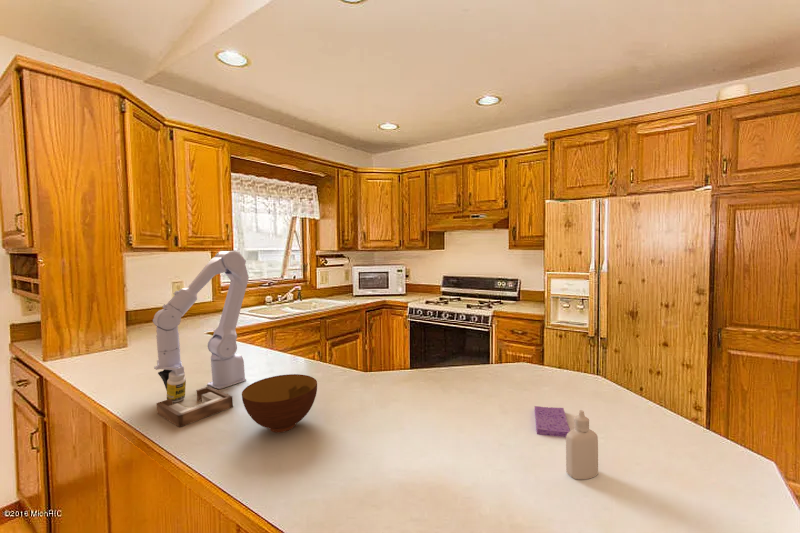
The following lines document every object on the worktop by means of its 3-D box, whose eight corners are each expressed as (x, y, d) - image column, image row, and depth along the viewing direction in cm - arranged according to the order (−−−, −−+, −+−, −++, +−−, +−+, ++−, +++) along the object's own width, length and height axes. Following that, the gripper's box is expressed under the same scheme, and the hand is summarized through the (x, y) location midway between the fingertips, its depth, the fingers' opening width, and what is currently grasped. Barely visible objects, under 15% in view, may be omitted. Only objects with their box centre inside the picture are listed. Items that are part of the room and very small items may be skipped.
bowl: (248, 454, 80) (245, 408, 79) (241, 420, 96) (238, 383, 95) (327, 432, 88) (325, 390, 87) (309, 404, 104) (307, 369, 103)
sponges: (536, 436, 83) (536, 428, 83) (534, 411, 95) (534, 404, 95) (570, 440, 81) (570, 431, 81) (563, 414, 93) (563, 407, 93)
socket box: (209, 395, 113) (208, 386, 113) (232, 406, 104) (232, 396, 104) (157, 413, 102) (156, 403, 102) (179, 427, 93) (178, 415, 93)
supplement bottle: (176, 404, 108) (176, 379, 106) (162, 399, 109) (163, 374, 107) (188, 395, 112) (189, 371, 110) (175, 391, 113) (176, 367, 111)
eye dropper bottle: (564, 465, 72) (563, 404, 71) (596, 468, 70) (595, 407, 69) (567, 479, 67) (567, 415, 67) (601, 483, 66) (601, 417, 65)
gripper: (144, 348, 113) (147, 392, 113) (163, 356, 104) (167, 403, 104) (170, 343, 118) (173, 385, 119) (190, 350, 109) (193, 395, 110)
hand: (172, 393), depth 112 cm, fingers closed, pressing on supplement bottle
